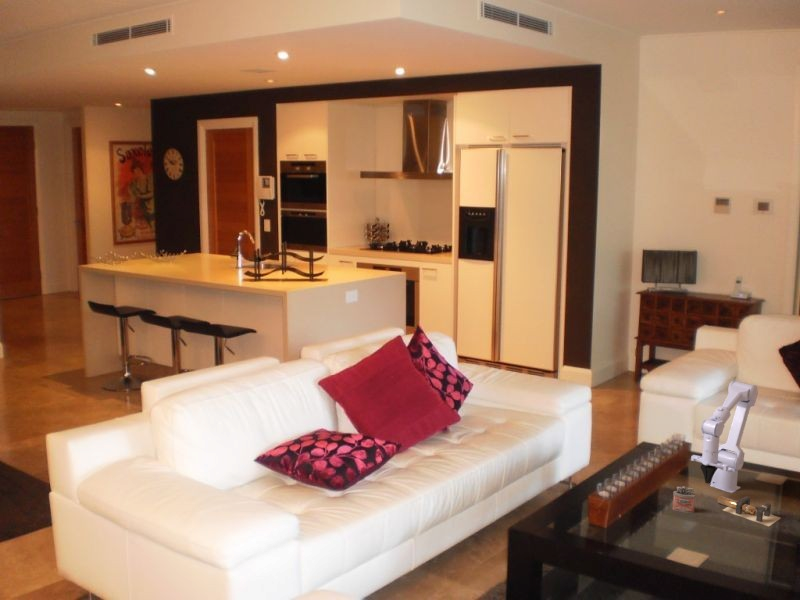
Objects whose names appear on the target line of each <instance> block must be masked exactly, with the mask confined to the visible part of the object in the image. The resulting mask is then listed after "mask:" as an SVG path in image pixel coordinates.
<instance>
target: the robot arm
mask: <svg viewBox="0 0 800 600" xmlns="http://www.w3.org/2000/svg"><path fill="white" fill-rule="evenodd" d="M727 390H728V391H727V396H726V398H725V400H724V402H723V403H722V405H721V406H720V405H719V406H717V407H716V408H715V410H714V411H713V413H712V414H711V415H710V416H709V418H707V419H704V420H703V422H702V424H701V428H700V429H701V430H700V431H701V433H702V434H701V435H702V438H703V441H702V455H696V454H692V455H691V457H690V461H693V462H698V463H701V465H699V466H700V469H701V471H702V474H703V477H704V481H705V484H710V485H709V486H710V487H712V488H716V489H719V490H722V491H723V492H727V493H730V494H733V493H734V492H736V491H737V490H740V489H741V486H738V473H739V471H740V470H741V469H742V468H743V466H744V463H745V462H744V461H745V452H744V450H743V449H742V447H740V444H741V442H742V441H741V440H742V438H743V434H744V430H745V427H746V424H747V420H748V417H749V414H750V410H751V407H755V404H756V401H757V398H758V394H759V391H758V390H759V389H758V388H757V385H755V384H750V383H746V382H740V381H737V380H732V381H731V382H729V384H728V389H727ZM735 407H736V408H735ZM734 408H735V412H734V414H733V418H732V422H731V426H730V428H729V432H728V436H727V440H726V442H725V443H723V444H720V436H721V435H722V434H723V431H724V428H725V424H726V423H727V421H728V420H729V418H730V417H731V411H732V409H734Z"/></svg>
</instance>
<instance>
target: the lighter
mask: <svg viewBox="0 0 800 600" xmlns="http://www.w3.org/2000/svg"><path fill="white" fill-rule="evenodd" d="M695 499H696V494H695V488H691V487H686V486H676V490H674V491H673V501H672V510H673V511H676V512H680V513H688V514H694V513H695V511H696V510H695V506H696V505H695V504H696V502H695V501H696V500H695Z"/></svg>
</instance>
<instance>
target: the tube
mask: <svg viewBox="0 0 800 600" xmlns="http://www.w3.org/2000/svg"><path fill="white" fill-rule="evenodd" d="M737 501H738V500H735V499H732V498H729V497H726V496H723V495H718V497H717V501H716V502H717V504H721V505H722V506H726V507H728V506H729V507H732V508H734V509H736V502H737ZM756 510H757V507H756V506H753V505H751V504H750V505H747V504H744V503H743V504H742V511H743V512H746V513H749V514H752V515H754V514H755V513H756Z"/></svg>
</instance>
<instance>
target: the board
mask: <svg viewBox="0 0 800 600" xmlns="http://www.w3.org/2000/svg"><path fill="white" fill-rule="evenodd" d="M736 501H737V502H736V509H734V508H732V507H729V506H726V507H725V508H724V509H722V511H724V512H726V513H728V514H729V513H730V514H732V515H734V516H738V517H741V518H744V519H747V520H749V521H752V522H755V523H758V524H761V525H764V526H767V527H770V526H772V525H773V524H775V523H776V522H777V521H779V520H780V519H781V517H780V516H777V515H774V514H772V513H771V509H772V508H771V506H772V504H771V503H770V502H765V503H764V504H763V505H761V506H759V507H758V508H756V513H755V514H754V515H752V514H749V513H746V512H743V511H742V504H743V503H744V504H747V505H750V506H751V496H748V495H746V496H744V497H742V498H741V499H739V500H736Z"/></svg>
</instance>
